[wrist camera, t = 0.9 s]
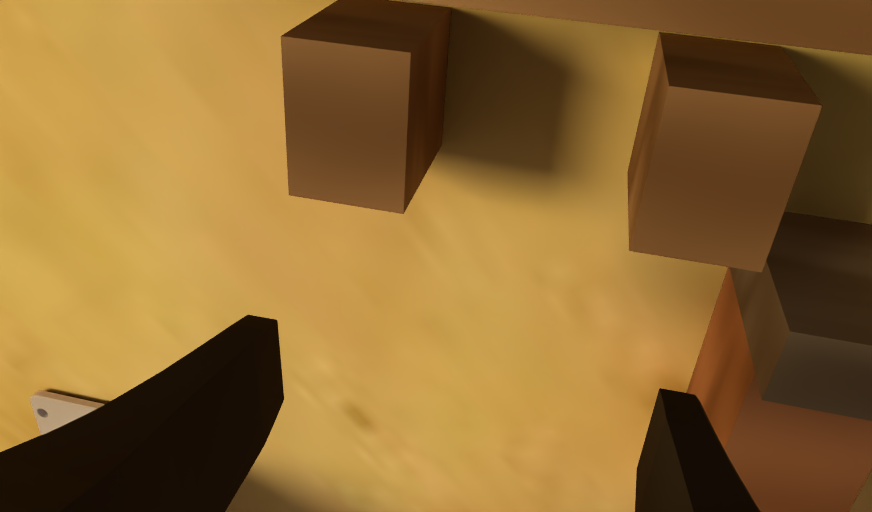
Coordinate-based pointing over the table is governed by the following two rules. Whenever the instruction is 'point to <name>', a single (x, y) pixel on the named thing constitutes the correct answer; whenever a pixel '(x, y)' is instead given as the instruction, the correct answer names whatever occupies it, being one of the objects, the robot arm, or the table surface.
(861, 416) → the brown boxy piece
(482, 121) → the table surface
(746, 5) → the board
